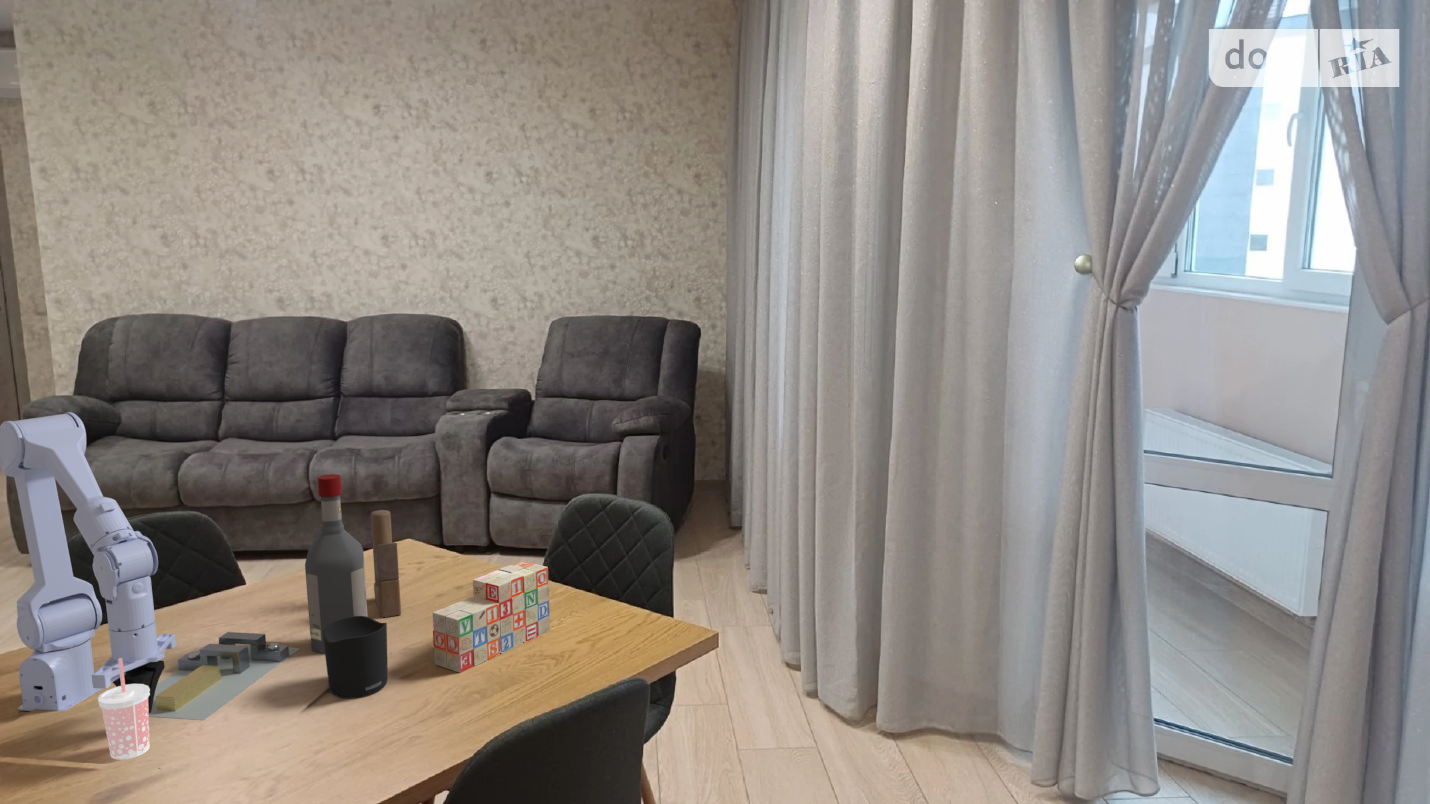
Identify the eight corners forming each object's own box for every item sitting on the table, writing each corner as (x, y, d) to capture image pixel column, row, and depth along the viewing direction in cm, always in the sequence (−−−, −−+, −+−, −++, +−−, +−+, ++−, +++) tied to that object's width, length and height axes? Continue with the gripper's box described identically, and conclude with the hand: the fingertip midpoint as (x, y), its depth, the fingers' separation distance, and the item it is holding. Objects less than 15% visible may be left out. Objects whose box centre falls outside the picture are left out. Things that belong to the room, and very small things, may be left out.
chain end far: (280, 662, 167) (279, 641, 167) (220, 658, 169) (218, 637, 168) (289, 656, 170) (287, 635, 169) (229, 652, 171) (227, 631, 170)
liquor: (369, 632, 181) (358, 468, 176) (368, 651, 173) (357, 480, 168) (314, 638, 178) (302, 472, 173) (310, 658, 170) (297, 485, 165)
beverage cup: (145, 739, 143) (135, 645, 141) (163, 753, 139) (153, 657, 137) (97, 756, 138) (86, 659, 136) (115, 771, 135) (104, 672, 132)
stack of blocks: (460, 674, 164) (456, 602, 162) (433, 665, 167) (430, 594, 165) (551, 631, 181) (548, 565, 179) (525, 624, 185) (523, 559, 183)
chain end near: (240, 673, 163) (238, 652, 162) (178, 670, 164) (176, 648, 164) (249, 667, 165) (247, 645, 165) (188, 663, 167) (186, 642, 166)
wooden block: (381, 618, 188) (375, 525, 185) (374, 600, 197) (369, 510, 194) (401, 615, 189) (396, 522, 186) (394, 597, 199) (388, 508, 196)
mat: (204, 723, 147) (204, 719, 147) (111, 717, 150) (110, 713, 149) (300, 651, 173) (300, 648, 173) (219, 647, 175) (219, 643, 175)
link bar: (175, 711, 150) (173, 697, 150) (156, 709, 151) (155, 696, 150) (220, 679, 161) (219, 666, 161) (203, 678, 161) (202, 665, 161)
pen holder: (324, 703, 154) (319, 641, 152) (330, 678, 163) (325, 618, 161) (389, 696, 156) (385, 634, 154) (391, 671, 165) (387, 612, 163)
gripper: (121, 645, 135) (131, 740, 137) (191, 606, 149) (199, 693, 152) (73, 643, 136) (84, 737, 138) (147, 604, 150) (156, 690, 153)
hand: (141, 714), depth 145 cm, fingers closed
